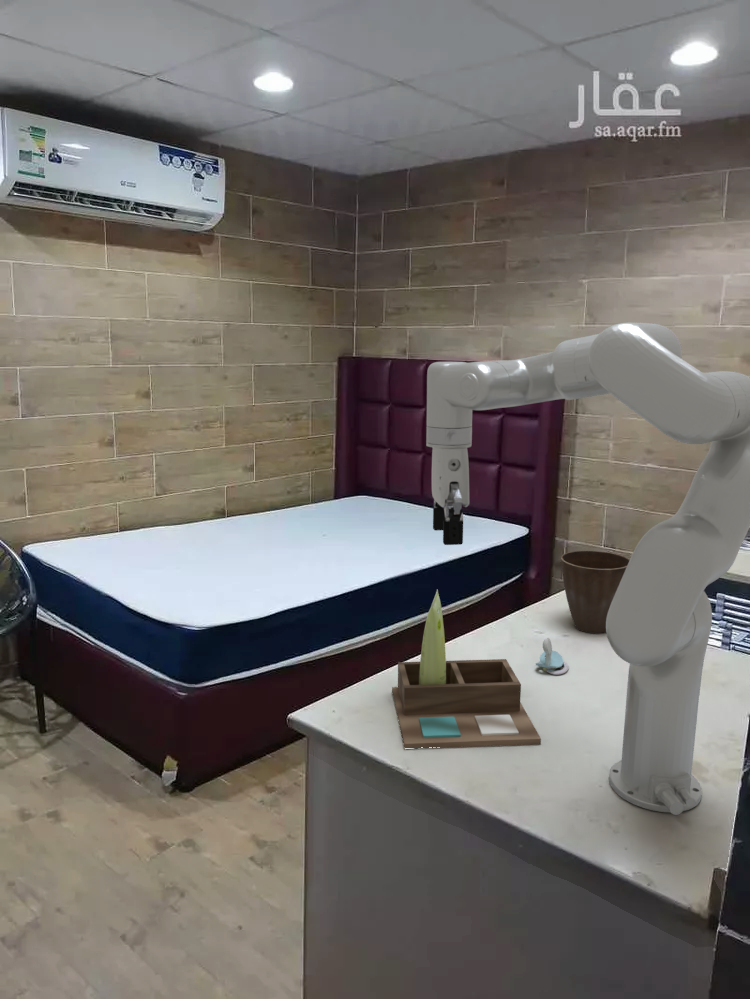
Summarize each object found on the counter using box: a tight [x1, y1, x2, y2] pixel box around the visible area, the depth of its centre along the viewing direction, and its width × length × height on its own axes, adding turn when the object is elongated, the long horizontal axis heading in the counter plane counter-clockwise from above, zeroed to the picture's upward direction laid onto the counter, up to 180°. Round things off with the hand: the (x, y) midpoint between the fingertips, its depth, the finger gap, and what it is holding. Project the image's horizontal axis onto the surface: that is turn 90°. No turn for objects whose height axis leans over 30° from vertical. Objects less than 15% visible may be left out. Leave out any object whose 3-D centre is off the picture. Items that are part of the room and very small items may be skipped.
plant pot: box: [560, 550, 630, 634], centre depth 171 cm, size 15×15×16 cm
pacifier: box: [535, 637, 569, 676], centre depth 150 cm, size 7×6×6 cm
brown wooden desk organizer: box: [391, 658, 542, 749], centre depth 131 cm, size 20×22×6 cm
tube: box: [419, 589, 447, 685], centre depth 133 cm, size 6×5×20 cm
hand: (447, 536), depth 130 cm, fingers open, 9 cm apart
